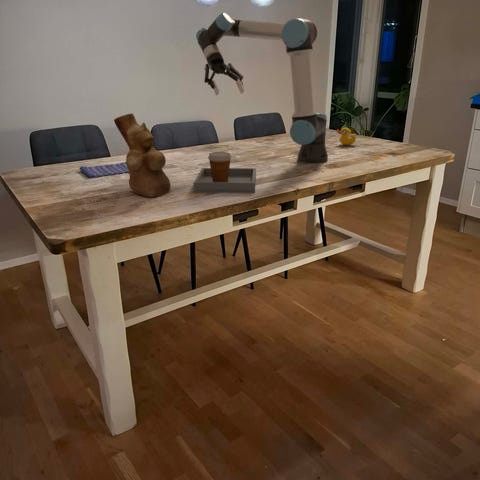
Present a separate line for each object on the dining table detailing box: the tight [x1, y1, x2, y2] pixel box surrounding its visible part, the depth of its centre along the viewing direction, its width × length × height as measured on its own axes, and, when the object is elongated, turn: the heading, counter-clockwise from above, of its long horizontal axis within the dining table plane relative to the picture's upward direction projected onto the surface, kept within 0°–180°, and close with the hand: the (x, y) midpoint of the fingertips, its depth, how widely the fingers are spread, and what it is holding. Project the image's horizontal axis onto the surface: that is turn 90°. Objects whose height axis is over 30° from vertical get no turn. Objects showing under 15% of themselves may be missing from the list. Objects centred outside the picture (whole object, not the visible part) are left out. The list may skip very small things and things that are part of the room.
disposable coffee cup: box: [207, 151, 232, 182], centre depth 188 cm, size 10×10×12 cm
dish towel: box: [78, 161, 129, 179], centre depth 213 cm, size 17×24×3 cm
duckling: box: [336, 127, 357, 146], centre depth 266 cm, size 11×5×10 cm, turn 62°
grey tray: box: [193, 167, 257, 194], centre depth 191 cm, size 24×24×4 cm
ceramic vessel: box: [113, 112, 172, 198], centre depth 177 cm, size 16×22×30 cm
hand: (230, 92), depth 213 cm, fingers open, 13 cm apart
